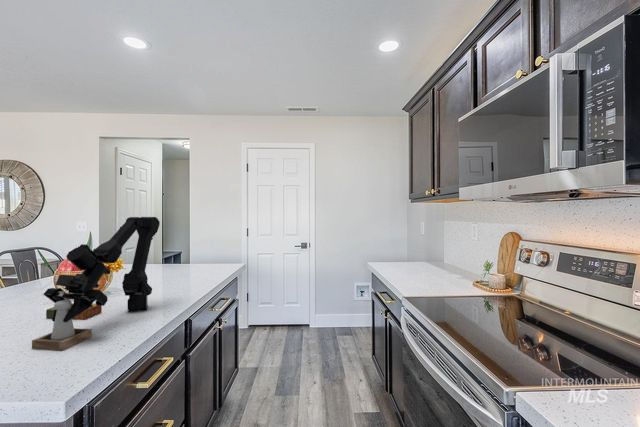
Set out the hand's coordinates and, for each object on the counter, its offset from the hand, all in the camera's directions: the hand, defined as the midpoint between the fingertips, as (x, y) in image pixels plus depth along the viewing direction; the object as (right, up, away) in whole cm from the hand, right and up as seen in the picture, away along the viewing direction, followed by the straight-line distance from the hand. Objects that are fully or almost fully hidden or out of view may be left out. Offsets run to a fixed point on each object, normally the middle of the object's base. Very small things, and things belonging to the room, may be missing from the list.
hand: (58, 321), depth 96 cm
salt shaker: (0, -7, +1) cm, 7 cm away
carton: (-16, -7, +26) cm, 32 cm away
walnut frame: (0, -7, +1) cm, 7 cm away
